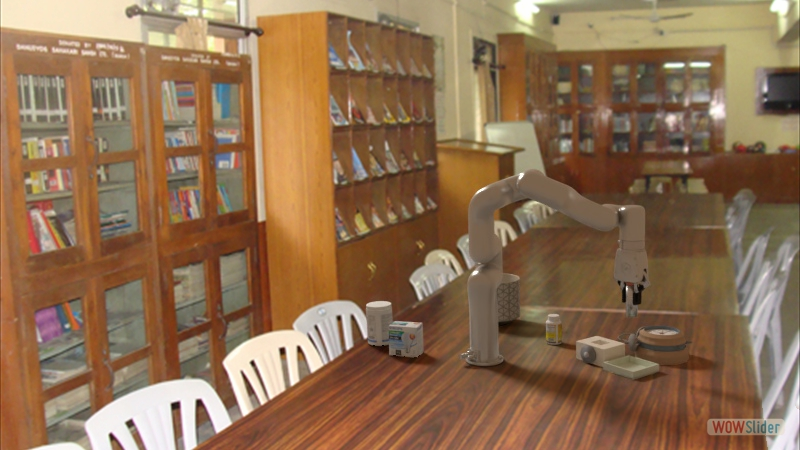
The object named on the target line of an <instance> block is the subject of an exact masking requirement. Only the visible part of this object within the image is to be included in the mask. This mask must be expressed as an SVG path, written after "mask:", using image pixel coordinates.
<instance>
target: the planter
mask: <svg viewBox="0 0 800 450" xmlns="http://www.w3.org/2000/svg"><path fill="white" fill-rule="evenodd" d="M497 302H498V327H499V326H504V325H507V324H509V323H511V322H513V321H514V320H517V319H519V318H520V317H521V279H520V276H519V275H516V274H511V273H507V272H506V273H504V272H503V278H502V282H501V284H500V285H499V287H498V288H497Z"/></svg>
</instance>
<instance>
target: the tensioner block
mask: <svg viewBox="0 0 800 450" xmlns="http://www.w3.org/2000/svg"><path fill="white" fill-rule="evenodd" d="M624 356H626V344H625V342H620V341H617V340H613V339H610V338H606V337H603V336H599V335H595V336H591V337H588V338H584V339H583V338H582V339H579V340H575V357H576V359H577V360H579V361H582V362H584V363H586V364H590V365H591V364H592V365H595V366H597V367H601V368H603V362H606V361H610V360H613V359H617V358H620V357H624Z"/></svg>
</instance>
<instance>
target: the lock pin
mask: <svg viewBox="0 0 800 450" xmlns="http://www.w3.org/2000/svg"><path fill="white" fill-rule="evenodd" d="M634 292H635V290H634V283H629V282H626V302H625V317H626V318H637V317H638V315H639V314H638V313H639V309H638V308H639V305H633V293H634Z"/></svg>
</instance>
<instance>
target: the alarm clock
mask: <svg viewBox="0 0 800 450" xmlns="http://www.w3.org/2000/svg"><path fill="white" fill-rule="evenodd" d="M628 335H629V337H628V339H624V338H620V337H622V336H628ZM617 340H620V341H623V342H624V344H625V345H628V348H629V350H630V351H631V352H634V357H637V358H640V359H643V360H647V361H650V362H654V363H657V364H659V366H674V365H675V366H676V365H682V364H685V363H687V362H688V361H689V359H690V358H689V357H690V356H689V355H690V351H689V349H688V347H687V345H688V344H693V341H690V340H687V339H686V337H685V332H684V331H682V330H680V329H678V328H676V327H673V326H668V325H649V326H641V327H640V328H638V330H637V331H636V333H627V332H626V333H621V334H619V335H618V336H617ZM686 344H687V345H686ZM686 361H687V362H686Z"/></svg>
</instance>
